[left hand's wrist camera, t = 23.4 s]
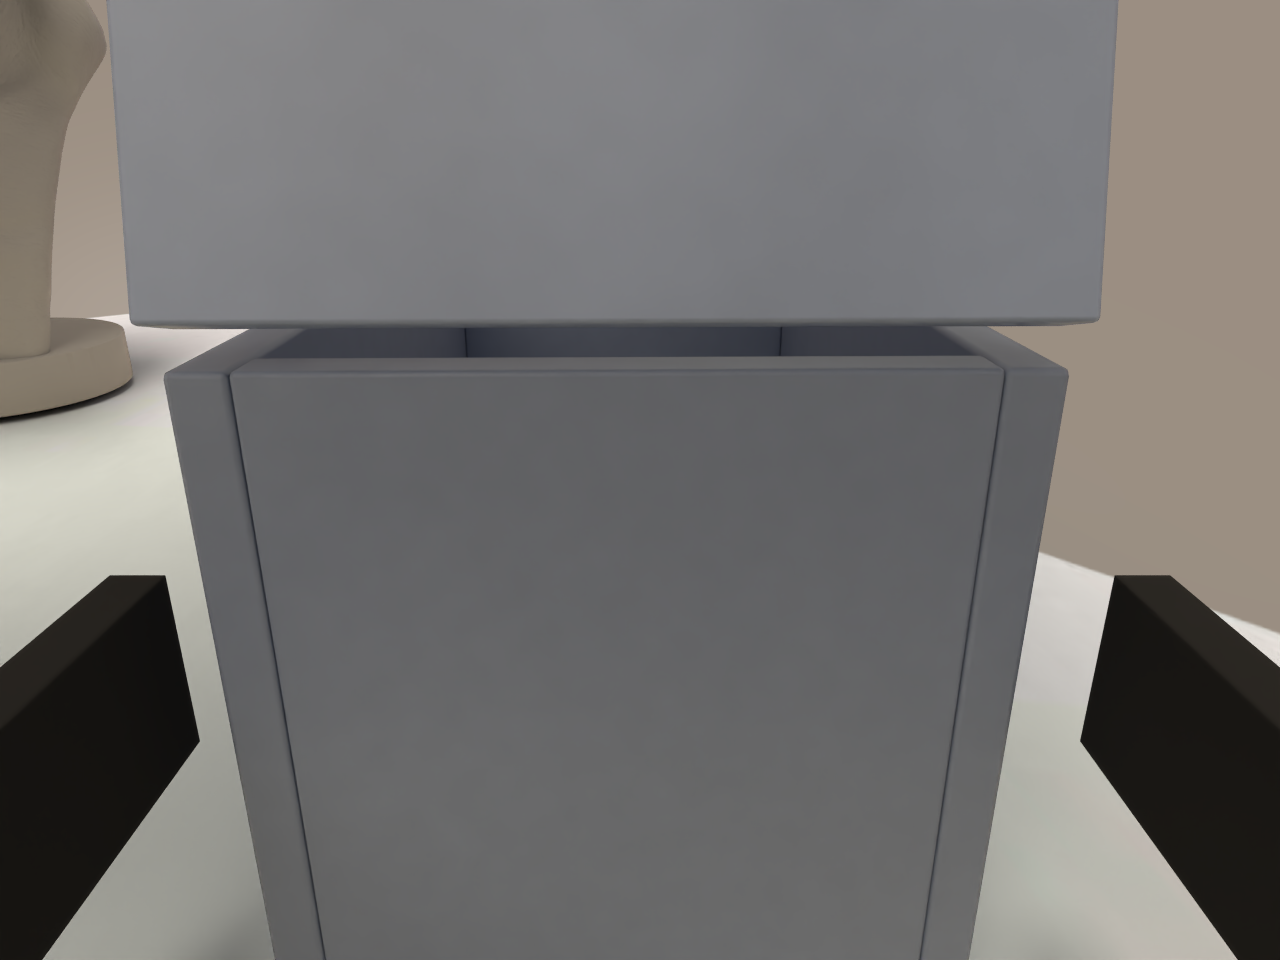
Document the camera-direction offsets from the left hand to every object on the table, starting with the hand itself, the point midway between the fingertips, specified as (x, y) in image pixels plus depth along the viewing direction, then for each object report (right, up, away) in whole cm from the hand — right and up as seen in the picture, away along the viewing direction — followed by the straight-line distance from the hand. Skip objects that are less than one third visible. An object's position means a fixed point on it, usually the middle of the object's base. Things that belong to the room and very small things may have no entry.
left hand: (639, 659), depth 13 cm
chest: (0, -3, +8) cm, 9 cm away
